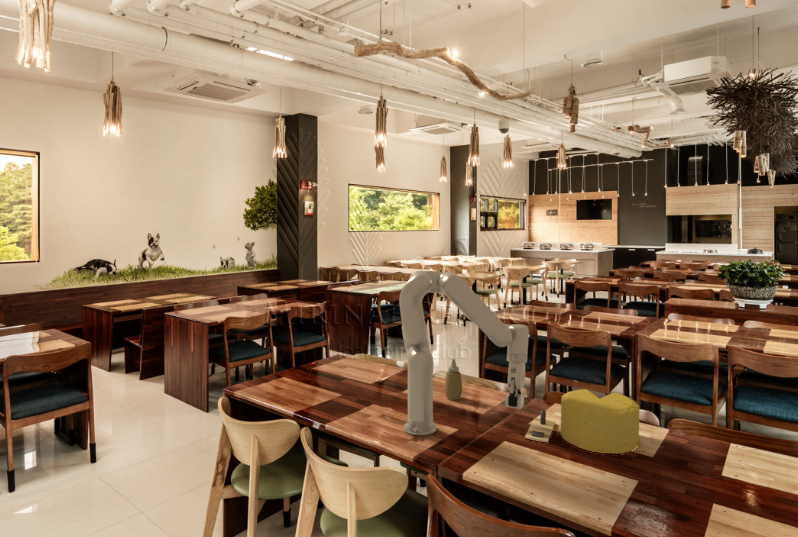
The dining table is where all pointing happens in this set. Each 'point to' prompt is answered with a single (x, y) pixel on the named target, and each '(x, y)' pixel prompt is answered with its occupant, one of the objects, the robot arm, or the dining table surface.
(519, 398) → the link
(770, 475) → the dining table surface
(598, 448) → the cheese
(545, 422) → the peg board
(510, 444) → the dining table surface
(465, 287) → the robot arm
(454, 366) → the squeeze bottle
